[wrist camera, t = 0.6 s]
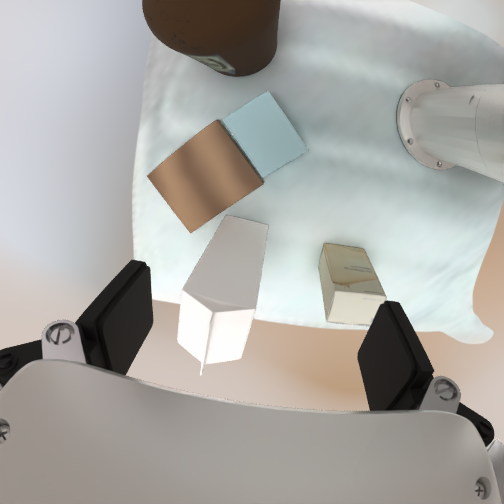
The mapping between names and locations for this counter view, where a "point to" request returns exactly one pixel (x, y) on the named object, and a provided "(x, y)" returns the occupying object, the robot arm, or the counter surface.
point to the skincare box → (349, 286)
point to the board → (205, 176)
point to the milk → (223, 292)
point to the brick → (265, 134)
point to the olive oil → (218, 31)
